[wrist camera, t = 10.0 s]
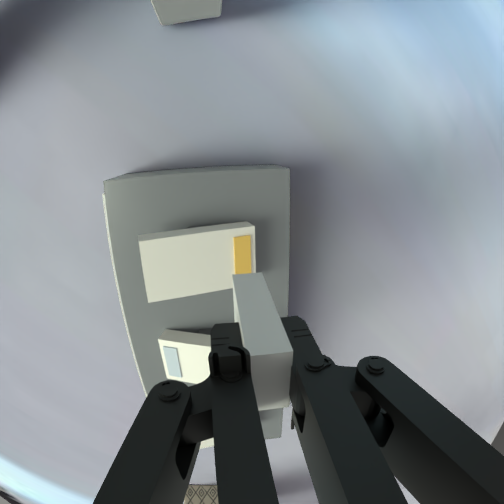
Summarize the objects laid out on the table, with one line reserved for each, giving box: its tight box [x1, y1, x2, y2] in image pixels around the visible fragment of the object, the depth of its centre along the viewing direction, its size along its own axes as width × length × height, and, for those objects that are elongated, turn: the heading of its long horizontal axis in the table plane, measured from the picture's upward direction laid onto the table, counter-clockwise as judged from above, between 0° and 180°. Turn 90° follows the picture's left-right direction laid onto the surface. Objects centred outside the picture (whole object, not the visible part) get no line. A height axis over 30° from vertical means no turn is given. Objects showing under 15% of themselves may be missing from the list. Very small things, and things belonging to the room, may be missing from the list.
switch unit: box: [102, 165, 290, 439], centre depth 29 cm, size 15×30×7 cm, turn 1°
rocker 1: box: [138, 221, 256, 303], centre depth 22 cm, size 8×4×2 cm, turn 91°
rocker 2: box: [158, 329, 211, 384], centre depth 25 cm, size 8×4×2 cm, turn 91°
